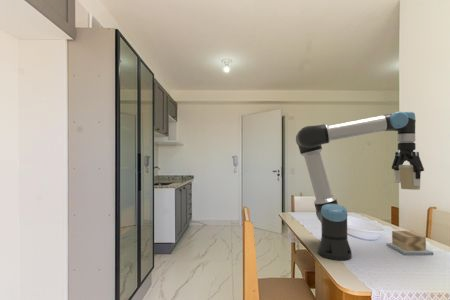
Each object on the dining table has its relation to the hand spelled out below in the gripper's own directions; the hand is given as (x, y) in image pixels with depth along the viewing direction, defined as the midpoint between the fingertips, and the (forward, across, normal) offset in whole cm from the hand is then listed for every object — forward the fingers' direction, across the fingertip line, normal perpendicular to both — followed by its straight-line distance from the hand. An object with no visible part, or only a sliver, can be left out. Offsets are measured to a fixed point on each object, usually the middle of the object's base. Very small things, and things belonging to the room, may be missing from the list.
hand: (406, 184), depth 135 cm
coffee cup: (+2, -2, 0) cm, 3 cm away
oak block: (+32, 0, -1) cm, 32 cm away
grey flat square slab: (+33, 0, -1) cm, 33 cm away
